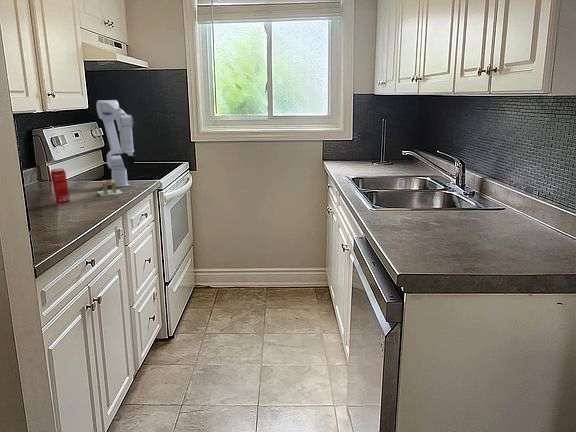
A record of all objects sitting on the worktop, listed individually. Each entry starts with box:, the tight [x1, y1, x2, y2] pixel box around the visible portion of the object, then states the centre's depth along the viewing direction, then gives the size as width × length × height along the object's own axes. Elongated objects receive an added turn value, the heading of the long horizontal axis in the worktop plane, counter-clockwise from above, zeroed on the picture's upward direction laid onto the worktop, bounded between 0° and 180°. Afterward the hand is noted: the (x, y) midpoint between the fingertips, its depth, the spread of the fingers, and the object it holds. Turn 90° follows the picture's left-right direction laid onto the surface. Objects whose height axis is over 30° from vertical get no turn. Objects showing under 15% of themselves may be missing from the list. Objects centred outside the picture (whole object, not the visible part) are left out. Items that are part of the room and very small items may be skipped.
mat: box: [97, 189, 124, 197], centre depth 236 cm, size 10×10×1 cm
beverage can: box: [50, 168, 71, 206], centre depth 212 cm, size 6×6×15 cm
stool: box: [102, 179, 117, 194], centre depth 235 cm, size 5×5×6 cm
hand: (129, 169), depth 239 cm, fingers open, 7 cm apart
